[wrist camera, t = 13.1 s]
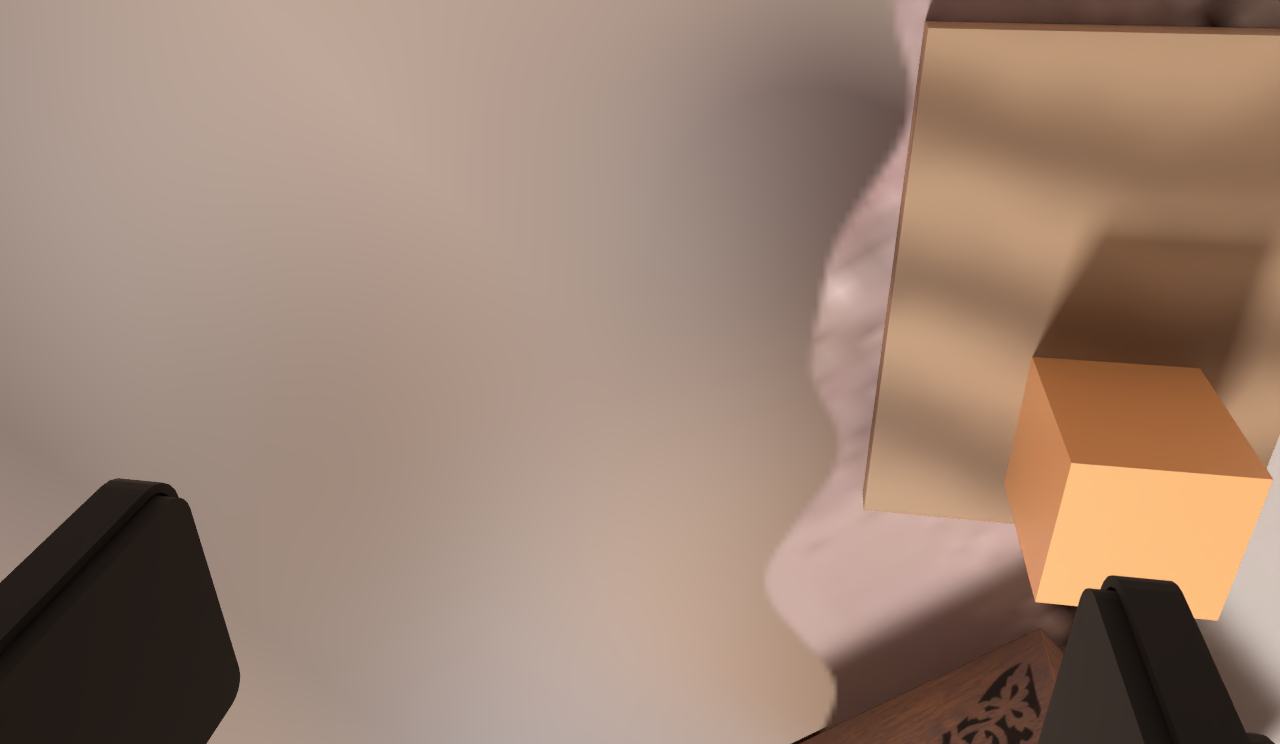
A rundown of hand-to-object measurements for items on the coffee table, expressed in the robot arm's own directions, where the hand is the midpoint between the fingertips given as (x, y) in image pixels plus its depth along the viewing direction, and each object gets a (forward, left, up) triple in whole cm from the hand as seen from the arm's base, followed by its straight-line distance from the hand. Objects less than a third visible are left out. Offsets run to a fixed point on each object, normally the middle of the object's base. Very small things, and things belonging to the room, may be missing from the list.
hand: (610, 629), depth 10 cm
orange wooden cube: (+14, +14, -27) cm, 34 cm away
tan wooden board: (+9, +13, -28) cm, 32 cm away
